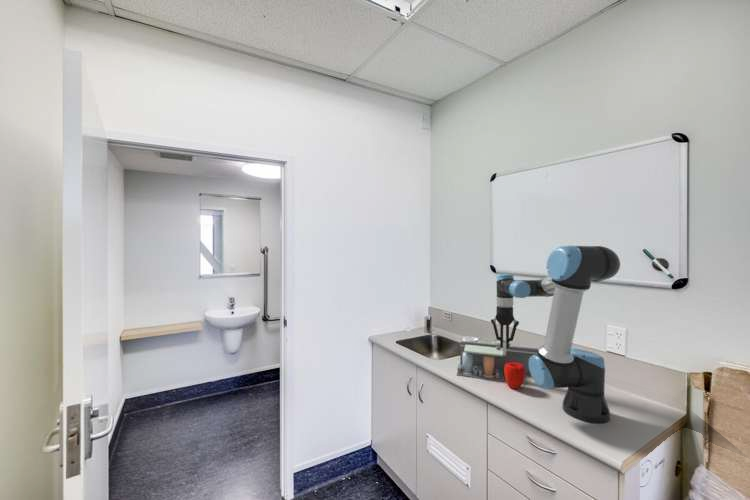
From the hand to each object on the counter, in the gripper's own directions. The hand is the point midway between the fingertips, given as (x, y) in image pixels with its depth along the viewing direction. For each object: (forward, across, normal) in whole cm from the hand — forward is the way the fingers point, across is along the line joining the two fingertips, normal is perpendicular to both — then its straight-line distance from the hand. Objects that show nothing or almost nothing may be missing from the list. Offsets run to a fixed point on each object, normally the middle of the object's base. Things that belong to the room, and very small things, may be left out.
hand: (504, 354), depth 157 cm
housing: (+11, +2, -3) cm, 11 cm away
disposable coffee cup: (+11, +1, -19) cm, 22 cm away
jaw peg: (+10, +7, +1) cm, 12 cm away
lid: (0, +10, -2) cm, 10 cm away
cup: (+11, +16, -28) cm, 34 cm away
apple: (+11, -4, +11) cm, 16 cm away
